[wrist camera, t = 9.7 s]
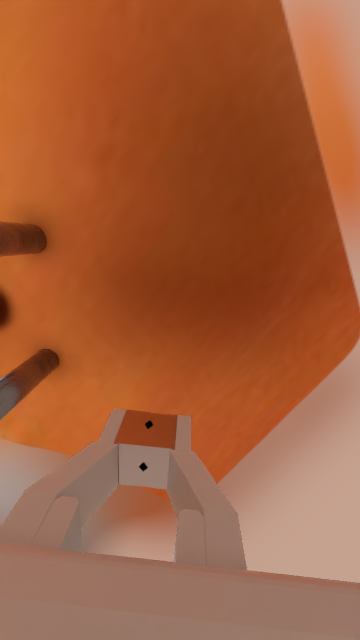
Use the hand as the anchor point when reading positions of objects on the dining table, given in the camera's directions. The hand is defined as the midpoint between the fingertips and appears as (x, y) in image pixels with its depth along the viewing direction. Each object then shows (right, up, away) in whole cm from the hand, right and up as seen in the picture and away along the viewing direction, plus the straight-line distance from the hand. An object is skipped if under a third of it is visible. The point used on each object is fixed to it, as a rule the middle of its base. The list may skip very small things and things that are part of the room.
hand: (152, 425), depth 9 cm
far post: (-13, 0, +15) cm, 20 cm away
